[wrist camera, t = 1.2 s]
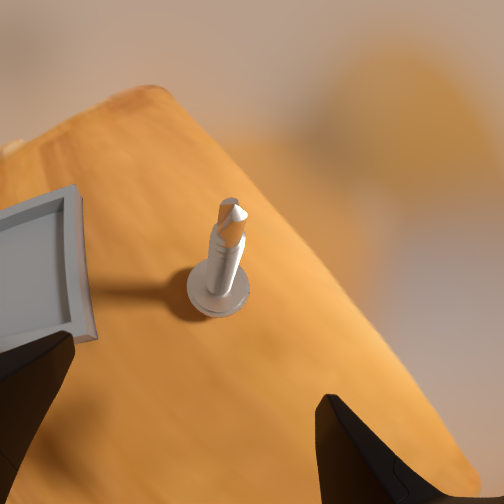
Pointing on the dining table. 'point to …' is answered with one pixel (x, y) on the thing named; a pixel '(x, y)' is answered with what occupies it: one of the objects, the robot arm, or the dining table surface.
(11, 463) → the robot arm
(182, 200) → the dining table surface
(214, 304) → the screw
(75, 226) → the tray
